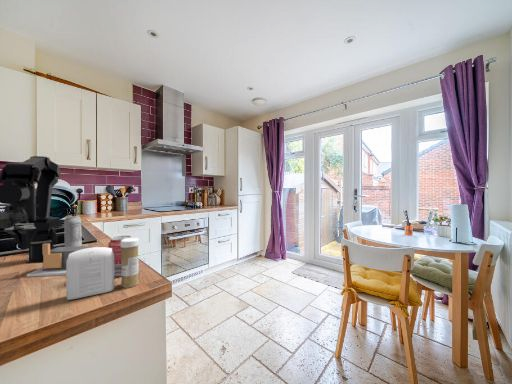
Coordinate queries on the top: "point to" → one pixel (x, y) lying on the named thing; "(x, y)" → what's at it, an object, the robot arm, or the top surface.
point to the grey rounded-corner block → (89, 272)
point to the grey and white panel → (62, 270)
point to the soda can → (117, 253)
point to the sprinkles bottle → (129, 262)
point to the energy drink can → (73, 231)
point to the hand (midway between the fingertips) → (24, 249)
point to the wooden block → (51, 257)
